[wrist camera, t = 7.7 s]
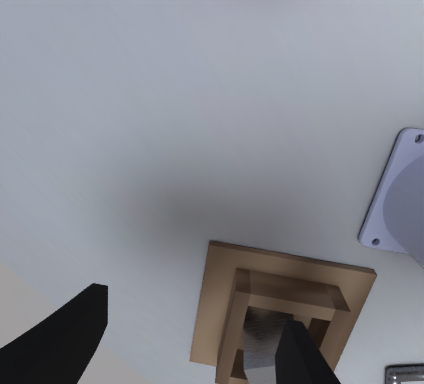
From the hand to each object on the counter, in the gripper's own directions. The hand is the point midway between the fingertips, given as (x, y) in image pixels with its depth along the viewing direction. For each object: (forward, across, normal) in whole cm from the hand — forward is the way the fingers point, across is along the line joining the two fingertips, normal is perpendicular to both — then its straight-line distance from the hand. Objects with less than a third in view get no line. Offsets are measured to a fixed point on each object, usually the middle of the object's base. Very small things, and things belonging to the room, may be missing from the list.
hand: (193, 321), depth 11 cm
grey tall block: (+9, -6, +8) cm, 13 cm away
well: (+9, -6, +8) cm, 14 cm away
